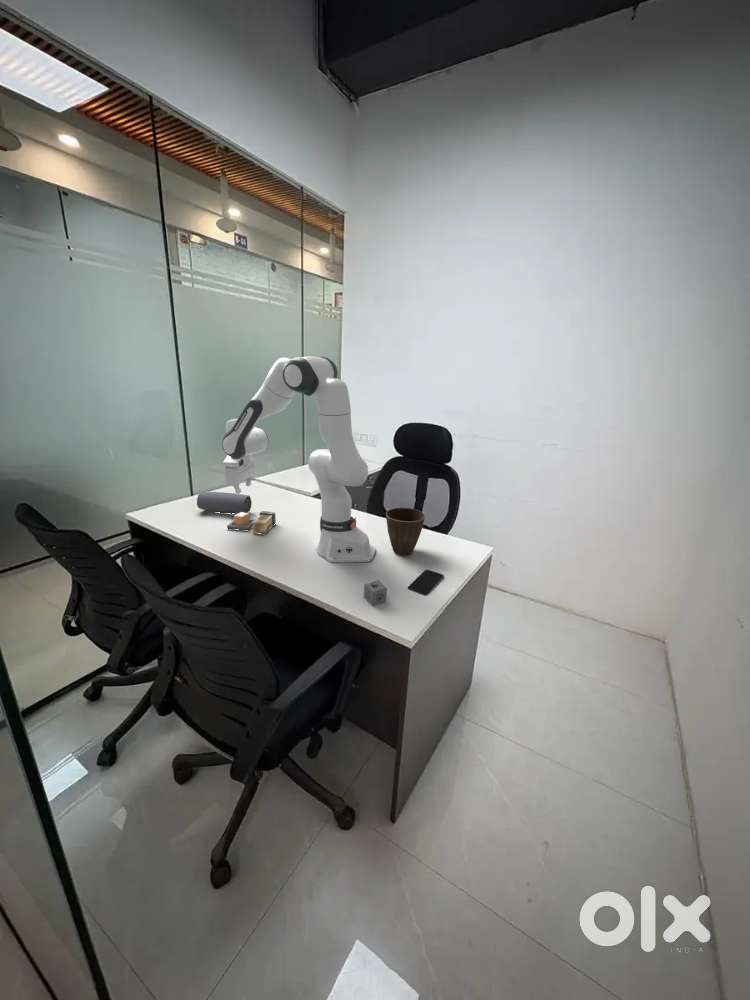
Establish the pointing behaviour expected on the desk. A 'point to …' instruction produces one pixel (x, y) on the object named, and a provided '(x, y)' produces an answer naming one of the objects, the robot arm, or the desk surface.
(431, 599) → the desk surface
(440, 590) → the desk surface
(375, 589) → the dice cube
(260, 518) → the block
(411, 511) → the plant pot
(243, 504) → the bluetooth speaker
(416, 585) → the smartphone
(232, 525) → the tray
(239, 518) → the orange cube
